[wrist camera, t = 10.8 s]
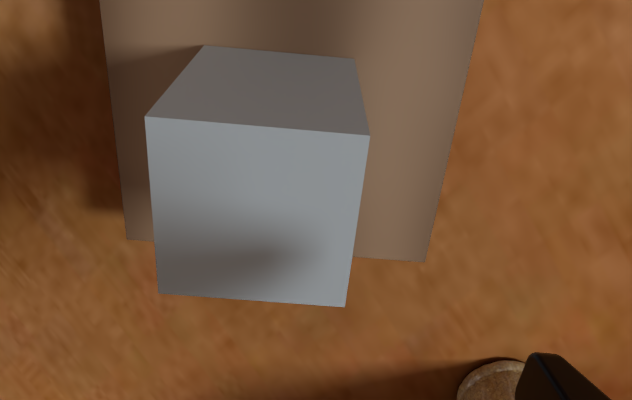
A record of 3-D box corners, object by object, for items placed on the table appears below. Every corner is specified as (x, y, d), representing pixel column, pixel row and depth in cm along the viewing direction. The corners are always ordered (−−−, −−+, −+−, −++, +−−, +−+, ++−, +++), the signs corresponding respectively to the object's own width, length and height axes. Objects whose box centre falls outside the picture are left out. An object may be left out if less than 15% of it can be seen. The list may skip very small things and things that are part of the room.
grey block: (206, 178, 18) (158, 293, 13) (203, 45, 16) (144, 116, 10) (337, 189, 18) (344, 307, 13) (354, 59, 16) (370, 135, 10)
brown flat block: (150, 199, 22) (126, 239, 19) (128, -71, 17) (91, -67, 14) (413, 220, 22) (424, 262, 19) (465, -40, 17) (490, -31, 14)
